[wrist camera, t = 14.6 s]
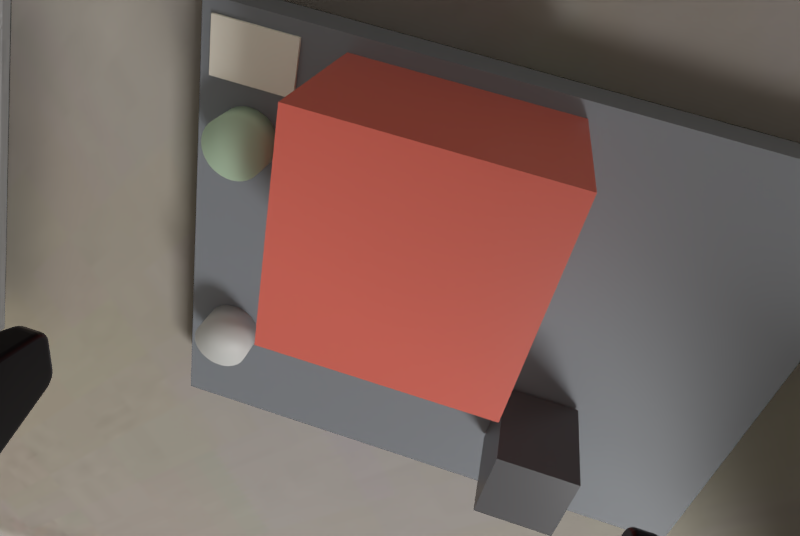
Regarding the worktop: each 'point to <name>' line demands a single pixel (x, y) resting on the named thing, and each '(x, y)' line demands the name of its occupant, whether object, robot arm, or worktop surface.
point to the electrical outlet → (4, 141)
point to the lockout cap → (418, 230)
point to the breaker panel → (576, 291)
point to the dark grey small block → (530, 463)
